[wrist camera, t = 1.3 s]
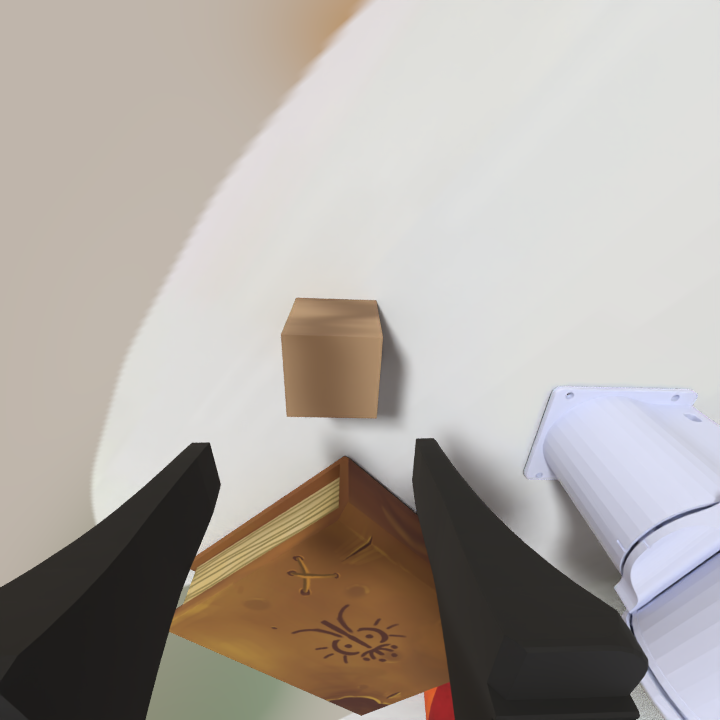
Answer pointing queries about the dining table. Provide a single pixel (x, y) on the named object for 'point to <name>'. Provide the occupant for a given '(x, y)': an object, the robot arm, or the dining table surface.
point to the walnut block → (332, 358)
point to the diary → (324, 594)
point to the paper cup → (439, 703)
